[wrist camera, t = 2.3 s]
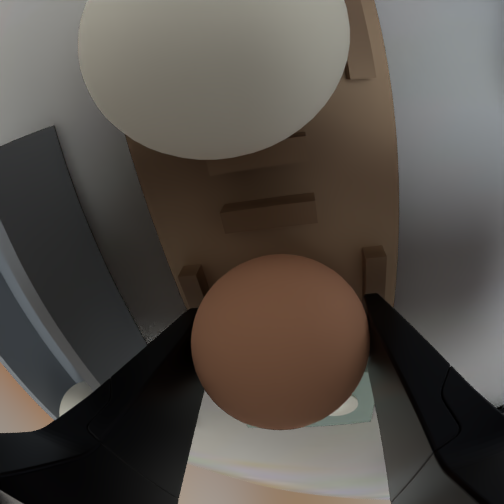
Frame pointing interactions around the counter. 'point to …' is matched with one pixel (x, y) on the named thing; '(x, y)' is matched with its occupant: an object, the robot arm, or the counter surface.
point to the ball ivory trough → (74, 396)
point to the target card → (351, 407)
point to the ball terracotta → (280, 342)
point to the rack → (292, 187)
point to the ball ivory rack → (212, 70)
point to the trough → (54, 280)
